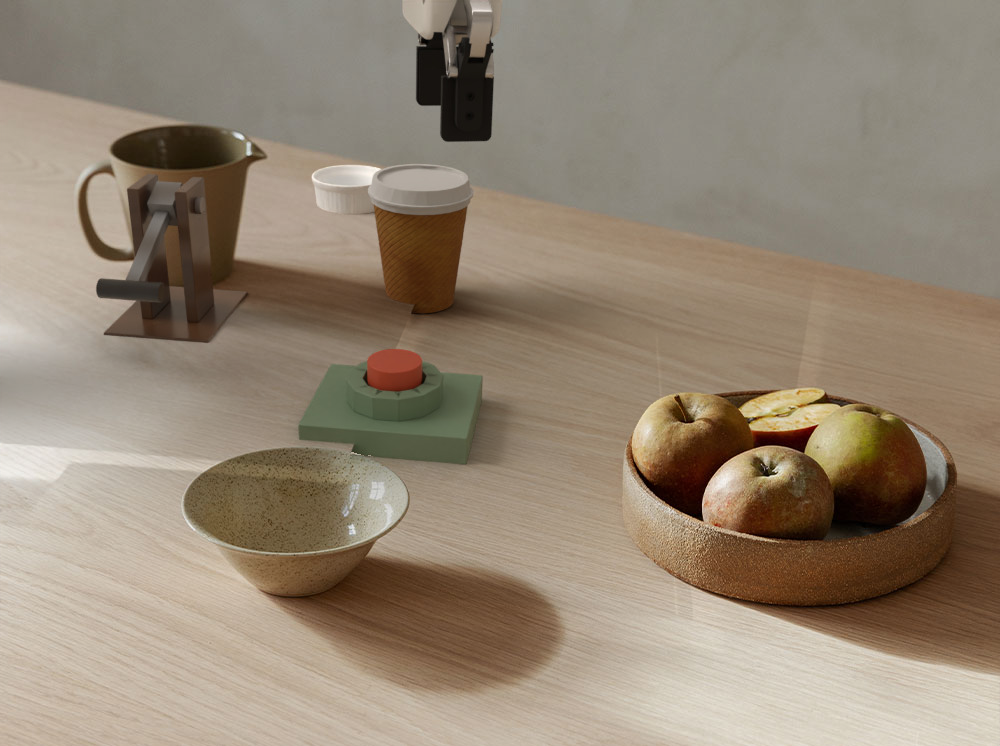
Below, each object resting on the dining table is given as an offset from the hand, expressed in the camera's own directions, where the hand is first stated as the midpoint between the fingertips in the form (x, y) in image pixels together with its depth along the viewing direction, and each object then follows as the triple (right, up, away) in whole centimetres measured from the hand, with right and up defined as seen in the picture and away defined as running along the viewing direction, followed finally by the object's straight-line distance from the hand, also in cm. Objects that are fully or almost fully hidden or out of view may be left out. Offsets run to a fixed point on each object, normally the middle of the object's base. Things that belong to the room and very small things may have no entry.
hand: (451, 121), depth 74 cm
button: (-4, -17, +7) cm, 19 cm away
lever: (-25, -7, +17) cm, 31 cm away
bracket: (-25, -12, +24) cm, 37 cm away
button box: (-5, -21, +9) cm, 23 cm away
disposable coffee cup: (-4, -10, +30) cm, 32 cm away
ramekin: (-14, +2, +54) cm, 55 cm away
